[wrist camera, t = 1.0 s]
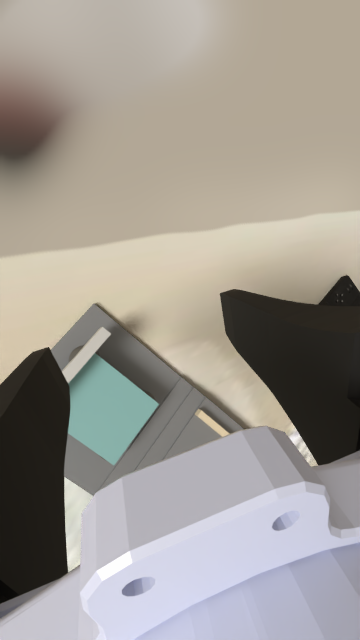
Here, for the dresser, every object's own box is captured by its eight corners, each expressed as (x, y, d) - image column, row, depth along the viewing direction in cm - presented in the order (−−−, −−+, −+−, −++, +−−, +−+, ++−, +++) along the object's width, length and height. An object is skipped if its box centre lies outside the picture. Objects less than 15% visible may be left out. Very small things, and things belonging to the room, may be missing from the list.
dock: (197, 562, 26) (207, 580, 24) (-16, 421, 22) (-25, 429, 20) (263, 447, 30) (277, 455, 28) (93, 304, 25) (95, 300, 23)
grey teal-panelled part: (100, 475, 24) (105, 501, 20) (13, 416, 22) (1, 431, 18) (166, 386, 26) (182, 393, 22) (93, 326, 24) (98, 323, 21)
